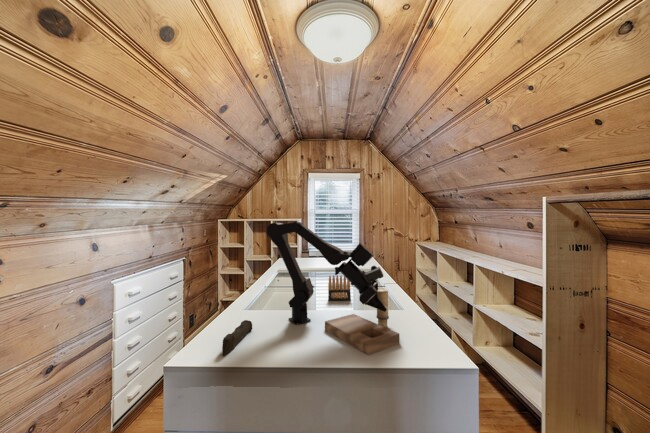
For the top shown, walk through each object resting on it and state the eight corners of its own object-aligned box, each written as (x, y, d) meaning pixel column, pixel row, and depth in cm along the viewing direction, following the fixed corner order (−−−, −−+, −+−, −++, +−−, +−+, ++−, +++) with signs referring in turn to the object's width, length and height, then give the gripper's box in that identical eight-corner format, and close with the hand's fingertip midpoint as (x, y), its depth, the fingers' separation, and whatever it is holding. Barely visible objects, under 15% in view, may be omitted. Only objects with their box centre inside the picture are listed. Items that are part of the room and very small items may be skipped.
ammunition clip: (328, 301, 131) (327, 275, 132) (328, 299, 133) (328, 274, 133) (350, 300, 131) (350, 275, 131) (350, 299, 133) (350, 274, 133)
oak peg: (374, 325, 100) (373, 290, 100) (382, 322, 103) (382, 288, 103) (382, 329, 97) (382, 293, 97) (391, 326, 99) (390, 291, 99)
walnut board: (324, 329, 97) (324, 321, 97) (353, 321, 104) (353, 313, 104) (368, 355, 78) (367, 344, 78) (399, 343, 86) (399, 333, 86)
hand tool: (241, 330, 97) (241, 317, 98) (252, 331, 97) (252, 317, 97) (213, 357, 79) (213, 341, 79) (227, 358, 78) (226, 341, 78)
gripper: (368, 263, 92) (404, 298, 89) (370, 256, 110) (400, 285, 108) (345, 286, 93) (379, 321, 91) (351, 275, 111) (379, 304, 109)
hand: (385, 306), depth 100 cm, fingers open, 9 cm apart
